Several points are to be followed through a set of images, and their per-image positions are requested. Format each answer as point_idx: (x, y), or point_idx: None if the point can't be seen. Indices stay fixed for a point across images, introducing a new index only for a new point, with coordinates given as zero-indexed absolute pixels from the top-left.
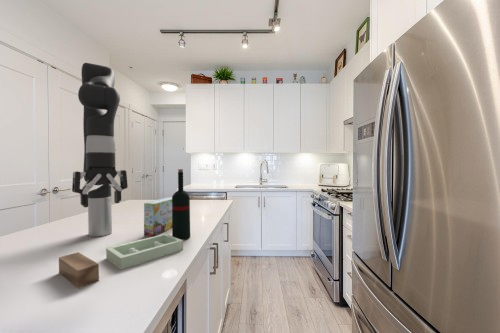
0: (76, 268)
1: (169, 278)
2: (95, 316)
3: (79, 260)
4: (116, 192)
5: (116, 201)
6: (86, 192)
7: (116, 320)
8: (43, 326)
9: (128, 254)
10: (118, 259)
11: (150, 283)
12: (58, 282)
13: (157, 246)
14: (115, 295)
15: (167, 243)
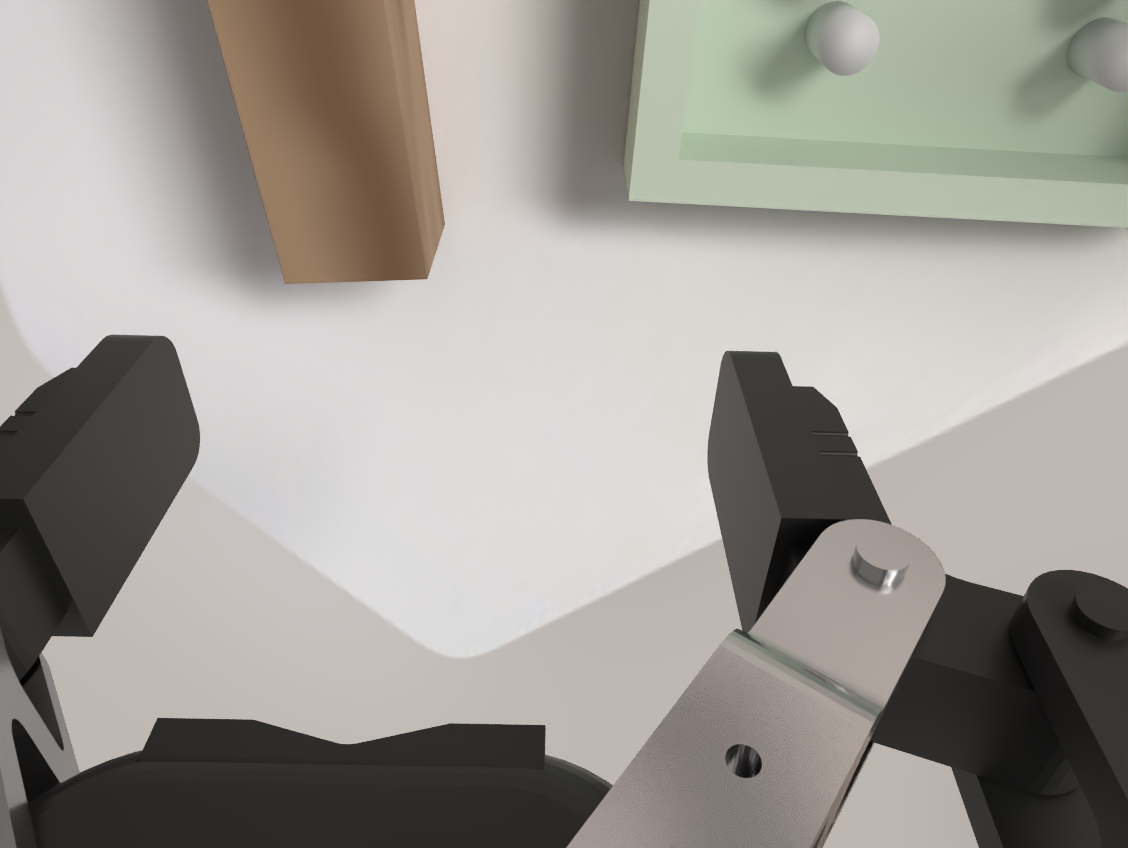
0: (281, 235)
1: None
2: (349, 529)
3: (317, 59)
4: (750, 607)
5: (716, 451)
6: (33, 684)
7: (403, 593)
8: None
9: (714, 167)
10: (632, 133)
11: (633, 473)
12: (207, 2)
13: (1000, 186)
14: (459, 451)
15: (1115, 188)
